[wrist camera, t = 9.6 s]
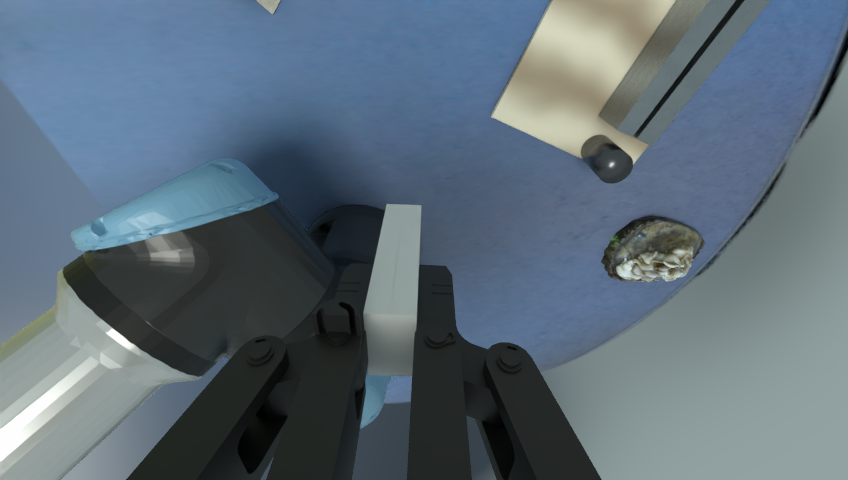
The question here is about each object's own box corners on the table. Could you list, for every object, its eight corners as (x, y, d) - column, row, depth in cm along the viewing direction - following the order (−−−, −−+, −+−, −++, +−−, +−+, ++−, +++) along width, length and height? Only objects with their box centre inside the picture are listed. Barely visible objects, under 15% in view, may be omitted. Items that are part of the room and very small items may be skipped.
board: (619, 174, 41) (622, 177, 41) (490, 114, 38) (491, 116, 37) (811, -66, 29) (820, -68, 29) (646, -184, 26) (651, -188, 25)
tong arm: (613, 123, 37) (633, 138, 33) (597, 115, 37) (615, 129, 33) (768, -95, 28) (821, -109, 24) (749, -108, 27) (799, -125, 23)
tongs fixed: (603, 169, 40) (622, 190, 36) (574, 156, 40) (591, 175, 35) (790, -77, 28) (853, -90, 24) (754, -102, 28) (813, -120, 23)
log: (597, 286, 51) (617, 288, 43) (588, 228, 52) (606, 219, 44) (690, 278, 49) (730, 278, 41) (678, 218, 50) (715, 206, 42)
